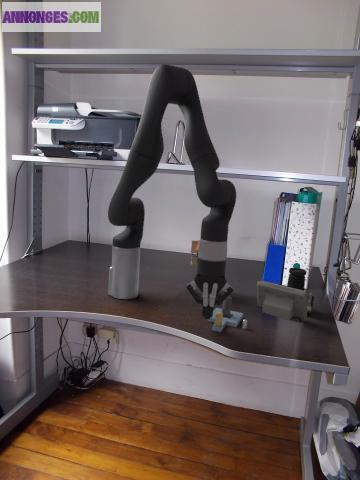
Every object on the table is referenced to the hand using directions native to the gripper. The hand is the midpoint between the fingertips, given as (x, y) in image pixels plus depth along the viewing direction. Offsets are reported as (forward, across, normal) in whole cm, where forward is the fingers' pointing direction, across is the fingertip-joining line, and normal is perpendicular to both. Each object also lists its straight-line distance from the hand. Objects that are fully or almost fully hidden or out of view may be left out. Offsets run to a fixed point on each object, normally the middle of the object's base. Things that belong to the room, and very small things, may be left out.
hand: (207, 318), depth 101 cm
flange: (+3, +5, +5) cm, 8 cm away
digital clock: (+5, +24, +16) cm, 30 cm away
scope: (+5, +31, +23) cm, 39 cm away
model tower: (+5, 0, +29) cm, 30 cm away
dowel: (+3, +11, +2) cm, 12 cm away
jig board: (+5, +4, +8) cm, 10 cm away
